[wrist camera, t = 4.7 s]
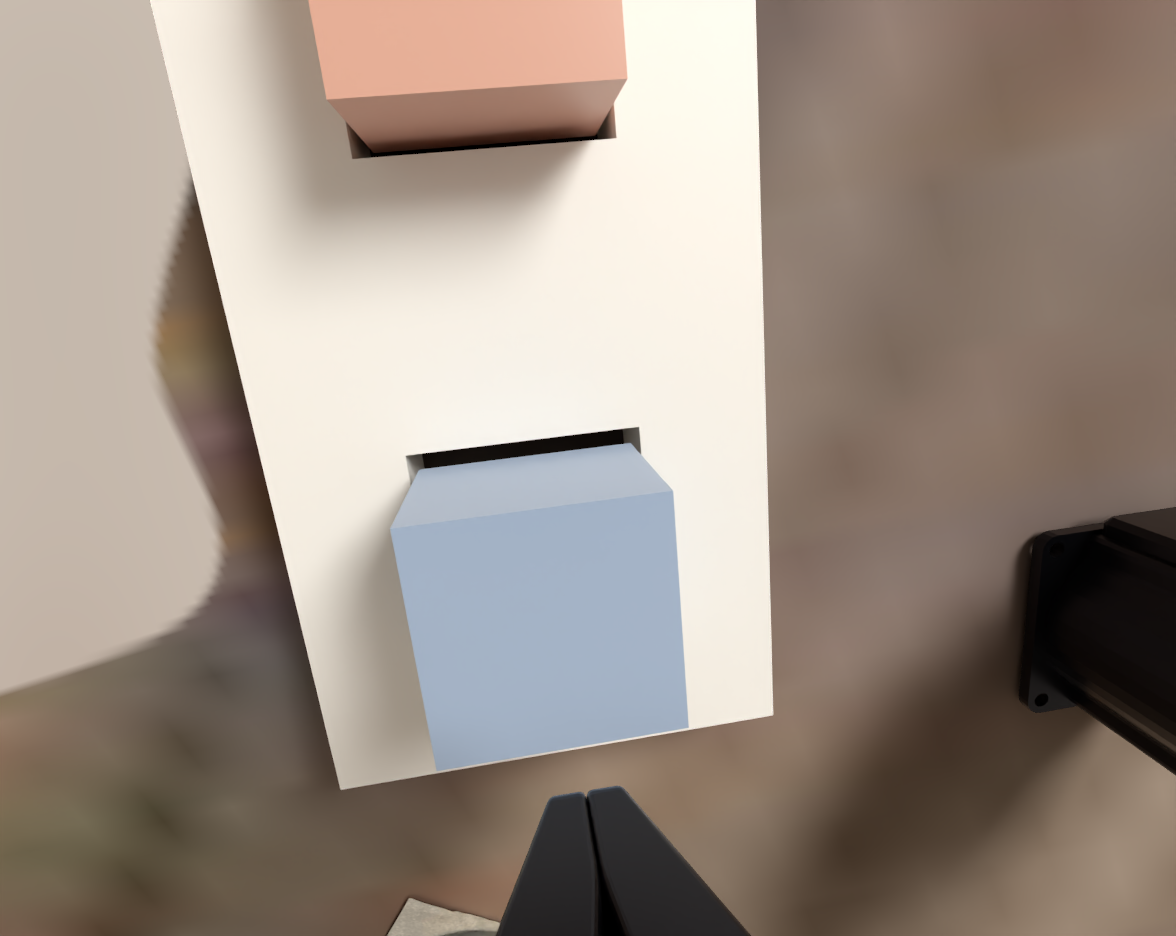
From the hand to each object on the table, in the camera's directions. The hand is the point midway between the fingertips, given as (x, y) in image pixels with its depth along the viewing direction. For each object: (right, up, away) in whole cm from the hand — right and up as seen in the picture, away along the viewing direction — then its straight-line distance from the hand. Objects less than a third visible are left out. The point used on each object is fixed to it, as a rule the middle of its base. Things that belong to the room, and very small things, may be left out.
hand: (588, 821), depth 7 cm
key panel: (-2, +8, +10) cm, 13 cm away
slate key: (-1, +2, +9) cm, 9 cm away
